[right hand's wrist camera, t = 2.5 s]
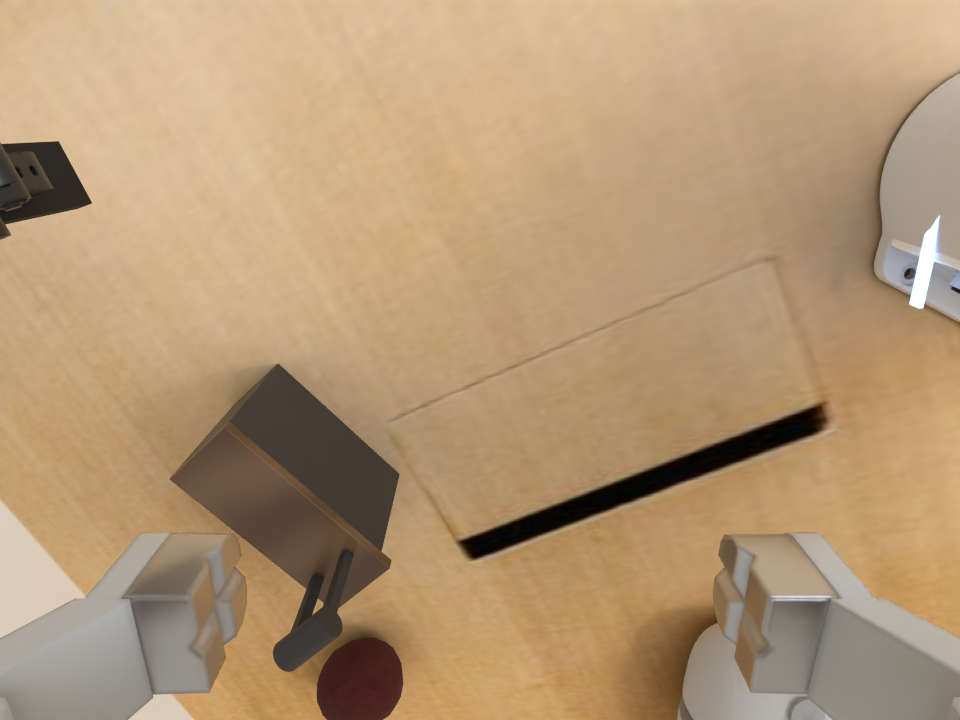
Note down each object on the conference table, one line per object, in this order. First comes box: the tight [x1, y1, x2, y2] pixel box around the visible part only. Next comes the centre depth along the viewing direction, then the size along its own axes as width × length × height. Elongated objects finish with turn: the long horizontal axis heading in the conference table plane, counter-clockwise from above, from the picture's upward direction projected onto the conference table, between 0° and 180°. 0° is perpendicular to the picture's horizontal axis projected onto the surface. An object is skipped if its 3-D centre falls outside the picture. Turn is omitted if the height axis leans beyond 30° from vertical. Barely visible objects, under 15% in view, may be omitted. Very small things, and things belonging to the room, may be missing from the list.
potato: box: [317, 638, 403, 720], centre depth 56 cm, size 7×8×7 cm
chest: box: [180, 364, 399, 551], centre depth 47 cm, size 13×6×10 cm, turn 42°
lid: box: [170, 422, 391, 672], centre depth 38 cm, size 14×6×8 cm, turn 42°
